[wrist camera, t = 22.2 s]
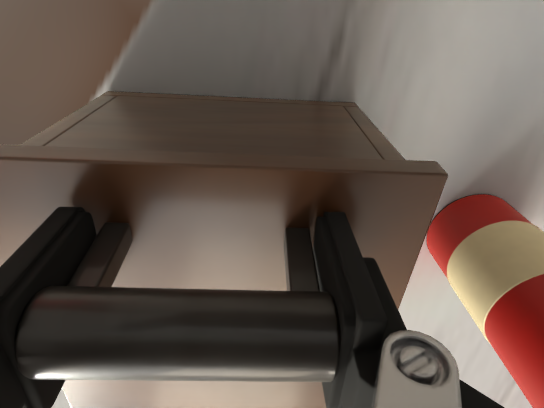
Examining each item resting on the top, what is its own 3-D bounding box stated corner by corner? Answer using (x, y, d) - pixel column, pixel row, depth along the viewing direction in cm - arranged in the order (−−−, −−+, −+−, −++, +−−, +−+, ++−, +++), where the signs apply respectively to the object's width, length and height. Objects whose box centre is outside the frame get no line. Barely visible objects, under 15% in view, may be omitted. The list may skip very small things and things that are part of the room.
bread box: (107, 90, 18) (4, 152, 11) (355, 102, 19) (414, 168, 11) (144, 309, 26) (97, 431, 18) (320, 312, 26) (343, 431, 19)
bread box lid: (-34, 141, 9) (-268, 284, 5) (437, 160, 10) (560, 301, 6) (97, 431, 18) (49, 570, 14) (343, 432, 19) (366, 565, 15)
